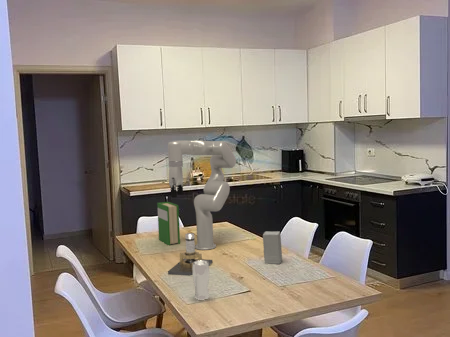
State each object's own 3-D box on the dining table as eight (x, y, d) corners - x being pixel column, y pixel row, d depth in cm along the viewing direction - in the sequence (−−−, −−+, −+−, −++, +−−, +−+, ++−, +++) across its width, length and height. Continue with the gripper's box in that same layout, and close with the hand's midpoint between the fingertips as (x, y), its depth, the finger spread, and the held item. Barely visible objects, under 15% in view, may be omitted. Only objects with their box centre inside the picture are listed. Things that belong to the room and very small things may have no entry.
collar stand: (183, 261, 240) (183, 247, 240) (212, 262, 236) (212, 248, 235) (168, 274, 219) (167, 259, 218) (199, 276, 215) (198, 260, 214)
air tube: (188, 263, 230) (187, 232, 229) (196, 264, 229) (195, 233, 228) (185, 266, 226) (183, 235, 225) (193, 266, 225) (192, 235, 223)
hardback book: (180, 243, 278) (178, 205, 276) (168, 245, 275) (167, 206, 273) (169, 238, 294) (168, 201, 292) (159, 239, 290) (157, 202, 288)
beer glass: (193, 295, 190) (191, 260, 188) (209, 294, 190) (208, 259, 189) (193, 301, 183) (192, 265, 181) (210, 300, 183) (209, 264, 182)
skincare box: (282, 261, 235) (281, 231, 233) (279, 265, 228) (278, 234, 227) (266, 260, 238) (265, 230, 236) (263, 263, 231) (262, 233, 230)
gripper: (174, 163, 253) (176, 193, 255) (163, 166, 236) (164, 198, 238) (187, 162, 251) (188, 193, 253) (176, 165, 234) (178, 198, 236)
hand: (177, 195), depth 245 cm, fingers open, 9 cm apart
